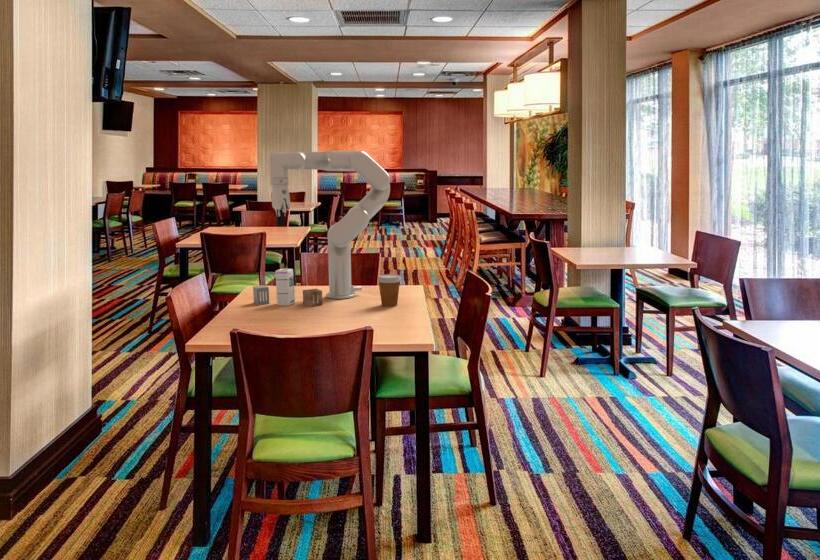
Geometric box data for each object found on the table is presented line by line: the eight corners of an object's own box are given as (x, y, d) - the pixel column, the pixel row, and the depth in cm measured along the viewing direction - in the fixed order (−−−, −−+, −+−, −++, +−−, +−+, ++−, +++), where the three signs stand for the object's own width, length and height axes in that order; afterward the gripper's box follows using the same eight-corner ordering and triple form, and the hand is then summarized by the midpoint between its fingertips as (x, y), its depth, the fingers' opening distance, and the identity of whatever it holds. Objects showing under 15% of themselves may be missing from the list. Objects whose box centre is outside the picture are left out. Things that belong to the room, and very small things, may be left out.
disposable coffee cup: (398, 307, 288) (398, 278, 286) (375, 307, 290) (374, 277, 288) (403, 303, 297) (403, 274, 295) (380, 302, 299) (380, 273, 297)
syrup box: (290, 305, 294) (288, 270, 292) (276, 305, 296) (275, 270, 293) (295, 303, 300) (293, 268, 297) (281, 302, 301) (280, 268, 299)
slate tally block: (265, 301, 303) (264, 285, 302) (269, 304, 299) (268, 287, 297) (253, 303, 301) (253, 286, 300) (257, 305, 296) (257, 288, 295)
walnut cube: (316, 302, 300) (316, 288, 299) (322, 305, 295) (322, 291, 294) (303, 304, 297) (302, 290, 296) (309, 307, 292) (308, 292, 291)
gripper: (294, 182, 298) (296, 226, 301) (281, 181, 311) (283, 224, 314) (277, 182, 294) (278, 227, 297) (265, 182, 307) (266, 225, 310)
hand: (281, 225), depth 306 cm, fingers closed
